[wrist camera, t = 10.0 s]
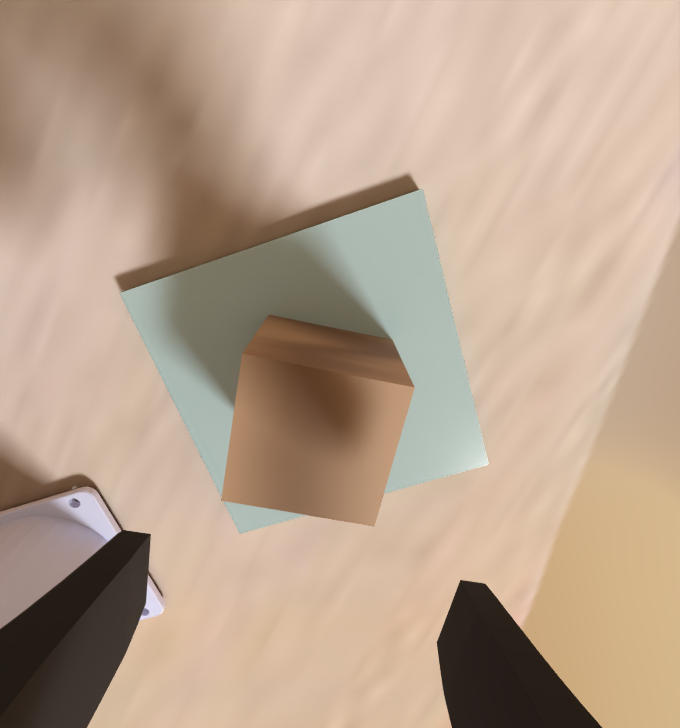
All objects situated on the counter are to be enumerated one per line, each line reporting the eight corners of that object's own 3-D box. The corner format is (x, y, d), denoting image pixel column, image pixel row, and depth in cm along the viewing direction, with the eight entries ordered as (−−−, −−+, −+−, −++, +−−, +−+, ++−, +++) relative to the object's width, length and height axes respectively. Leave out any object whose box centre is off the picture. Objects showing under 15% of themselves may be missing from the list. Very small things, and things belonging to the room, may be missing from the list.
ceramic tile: (242, 525, 20) (239, 533, 20) (126, 290, 17) (119, 293, 16) (484, 457, 19) (488, 464, 19) (419, 189, 16) (422, 188, 15)
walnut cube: (392, 339, 17) (414, 387, 12) (364, 447, 18) (374, 526, 14) (268, 314, 16) (242, 353, 12) (250, 426, 18) (221, 500, 13)
